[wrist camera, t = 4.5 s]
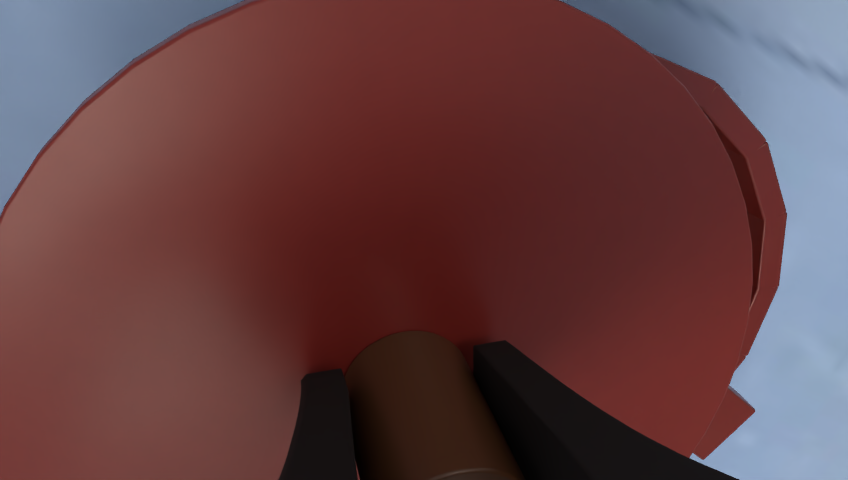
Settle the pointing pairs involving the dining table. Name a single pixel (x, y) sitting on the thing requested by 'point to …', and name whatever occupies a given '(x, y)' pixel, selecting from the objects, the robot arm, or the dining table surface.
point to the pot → (764, 226)
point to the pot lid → (365, 243)
